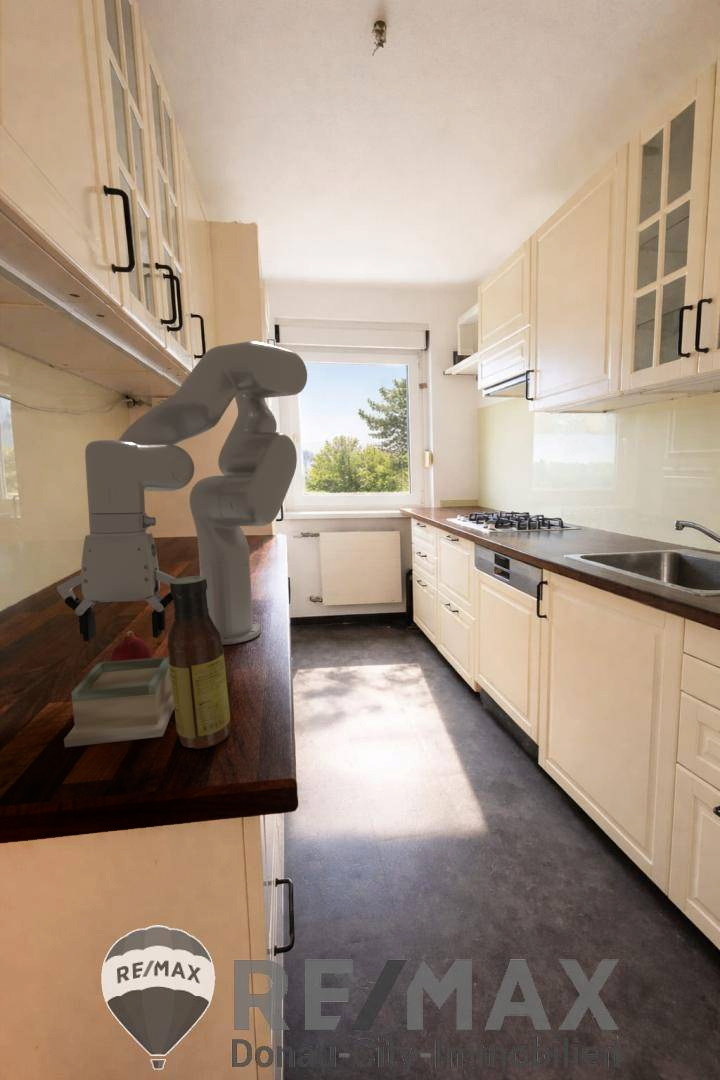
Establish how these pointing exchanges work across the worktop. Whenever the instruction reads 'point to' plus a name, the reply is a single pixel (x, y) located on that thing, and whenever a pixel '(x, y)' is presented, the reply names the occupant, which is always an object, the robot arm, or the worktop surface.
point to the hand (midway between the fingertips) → (124, 636)
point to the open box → (122, 702)
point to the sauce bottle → (197, 667)
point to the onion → (131, 649)
